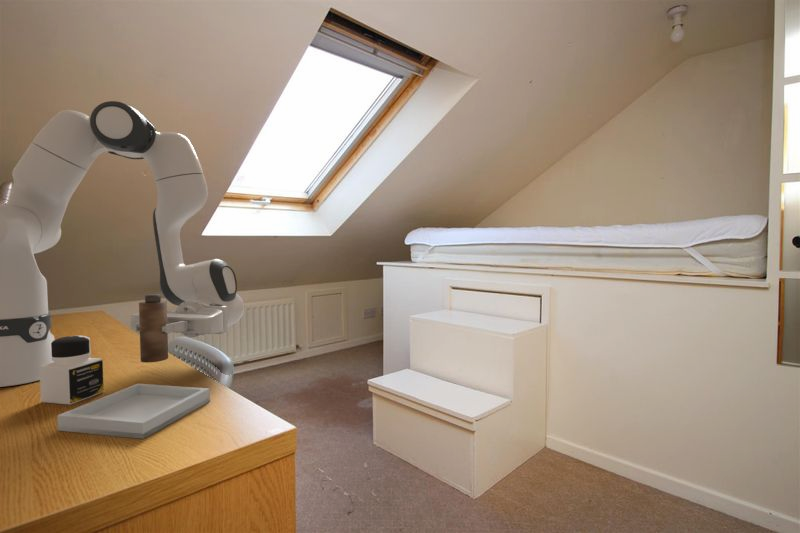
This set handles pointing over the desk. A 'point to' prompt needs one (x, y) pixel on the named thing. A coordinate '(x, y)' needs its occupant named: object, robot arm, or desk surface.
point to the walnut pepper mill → (153, 329)
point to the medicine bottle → (71, 372)
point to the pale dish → (134, 410)
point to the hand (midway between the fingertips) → (150, 328)
